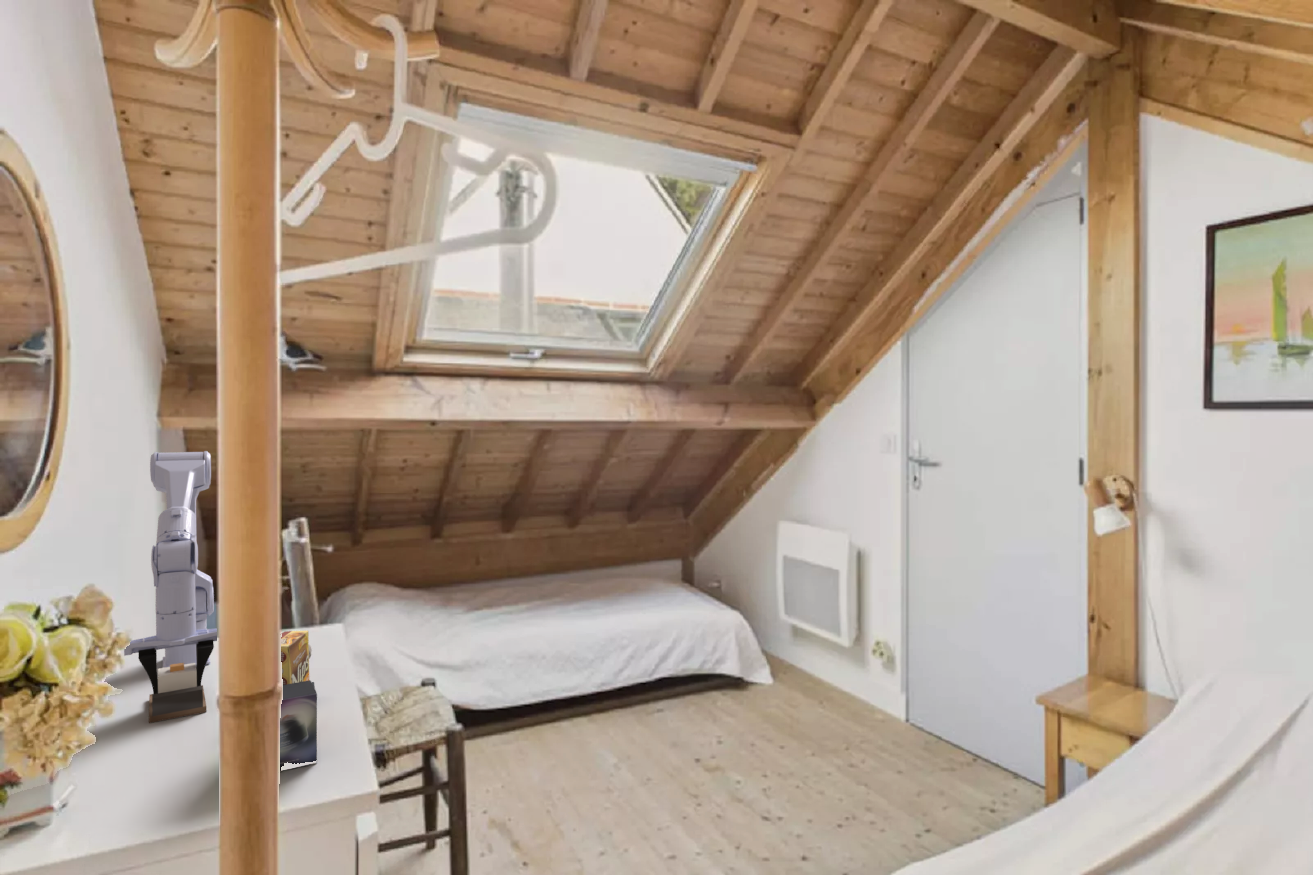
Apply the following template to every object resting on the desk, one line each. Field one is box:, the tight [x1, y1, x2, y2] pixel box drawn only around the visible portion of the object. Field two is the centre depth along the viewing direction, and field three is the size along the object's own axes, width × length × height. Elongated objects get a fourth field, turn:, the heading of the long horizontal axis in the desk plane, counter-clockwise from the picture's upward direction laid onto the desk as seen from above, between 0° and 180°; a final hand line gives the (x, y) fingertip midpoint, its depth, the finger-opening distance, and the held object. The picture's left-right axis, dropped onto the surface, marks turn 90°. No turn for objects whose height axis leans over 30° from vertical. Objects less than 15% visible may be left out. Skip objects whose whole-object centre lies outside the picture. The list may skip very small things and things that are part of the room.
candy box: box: [281, 630, 310, 685], centre depth 113 cm, size 9×4×15 cm, turn 8°
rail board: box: [148, 684, 207, 724], centre depth 125 cm, size 12×8×4 cm, turn 35°
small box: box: [280, 679, 318, 772], centre depth 103 cm, size 11×6×10 cm, turn 123°
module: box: [157, 663, 197, 693], centre depth 125 cm, size 5×6×6 cm
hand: (177, 688), depth 125 cm, fingers closed on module, 5 cm apart
